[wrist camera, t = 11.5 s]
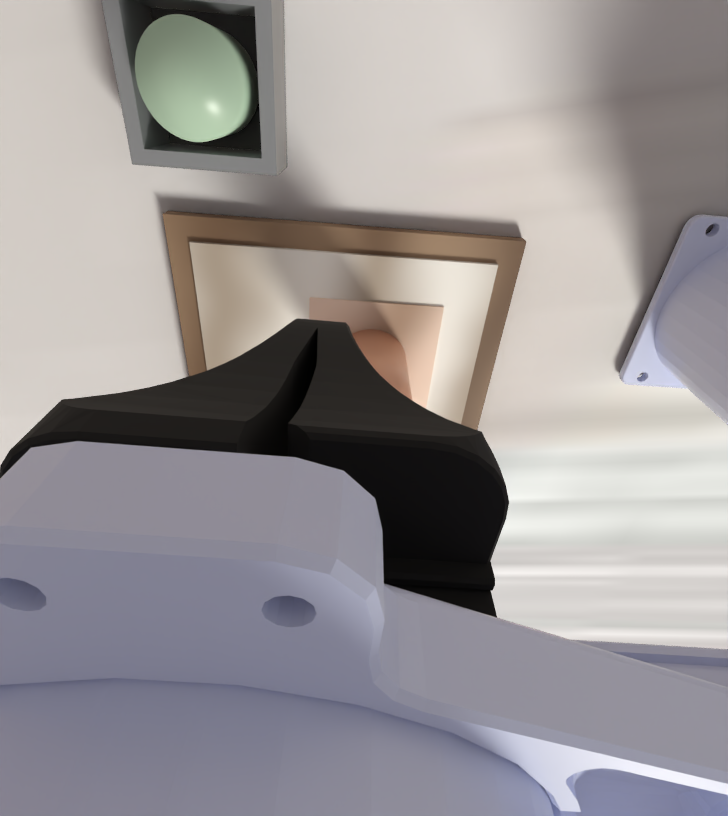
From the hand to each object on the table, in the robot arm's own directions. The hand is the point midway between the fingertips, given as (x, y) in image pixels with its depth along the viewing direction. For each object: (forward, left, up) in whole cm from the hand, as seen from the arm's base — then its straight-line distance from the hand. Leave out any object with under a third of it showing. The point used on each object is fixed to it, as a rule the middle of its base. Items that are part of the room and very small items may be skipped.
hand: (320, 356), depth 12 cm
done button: (+5, -5, -10) cm, 12 cm away
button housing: (+5, -6, -10) cm, 12 cm away
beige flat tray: (0, +9, -10) cm, 14 cm away
